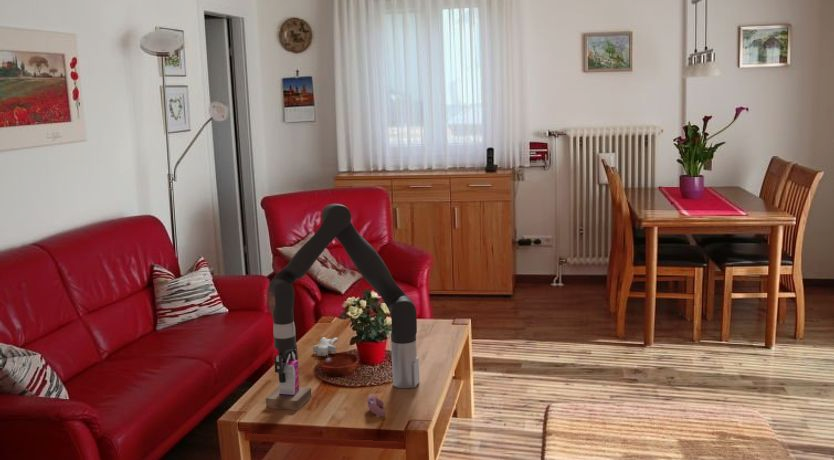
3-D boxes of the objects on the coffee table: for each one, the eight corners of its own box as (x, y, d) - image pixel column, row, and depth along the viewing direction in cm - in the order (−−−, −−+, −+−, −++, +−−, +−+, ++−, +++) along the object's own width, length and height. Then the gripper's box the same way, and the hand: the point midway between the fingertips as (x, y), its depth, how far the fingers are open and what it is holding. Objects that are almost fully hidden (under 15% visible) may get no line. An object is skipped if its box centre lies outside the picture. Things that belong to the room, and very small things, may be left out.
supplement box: (294, 396, 296) (293, 365, 294) (278, 395, 297) (276, 364, 295) (300, 390, 302) (298, 359, 299) (284, 389, 303) (282, 358, 300)
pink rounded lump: (373, 410, 294) (363, 394, 292) (384, 404, 294) (375, 387, 292) (374, 422, 284) (364, 405, 283) (386, 415, 284) (376, 399, 283)
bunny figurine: (309, 348, 344) (318, 332, 358) (310, 360, 345) (319, 343, 360) (332, 349, 342) (340, 333, 357) (333, 360, 344) (341, 344, 358)
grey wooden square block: (311, 398, 304) (310, 388, 303) (297, 411, 293) (297, 401, 292) (281, 395, 307) (280, 385, 306) (266, 409, 296) (265, 398, 295)
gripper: (285, 341, 287) (289, 386, 290) (302, 328, 301) (305, 371, 304) (265, 340, 289) (269, 384, 292) (283, 327, 303) (286, 370, 306)
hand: (287, 377), depth 298 cm, fingers open, 8 cm apart
